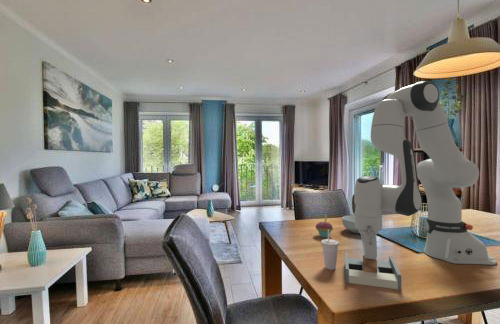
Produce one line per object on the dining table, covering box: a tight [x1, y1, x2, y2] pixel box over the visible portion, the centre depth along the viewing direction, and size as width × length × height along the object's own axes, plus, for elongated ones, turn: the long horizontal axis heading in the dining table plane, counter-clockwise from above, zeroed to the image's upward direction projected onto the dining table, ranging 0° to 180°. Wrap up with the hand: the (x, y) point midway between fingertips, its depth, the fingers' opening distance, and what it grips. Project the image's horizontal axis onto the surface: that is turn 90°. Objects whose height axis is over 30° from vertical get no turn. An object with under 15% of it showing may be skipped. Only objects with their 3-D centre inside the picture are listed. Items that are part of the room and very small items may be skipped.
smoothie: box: [320, 230, 340, 271], centre depth 98 cm, size 6×6×14 cm
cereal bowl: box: [341, 215, 360, 234], centre depth 142 cm, size 17×17×7 cm
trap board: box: [344, 251, 402, 291], centre depth 91 cm, size 16×16×4 cm
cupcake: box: [315, 214, 334, 238], centre depth 135 cm, size 9×8×12 cm
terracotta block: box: [362, 254, 378, 273], centre depth 89 cm, size 4×4×4 cm
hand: (368, 261), depth 93 cm, fingers closed
